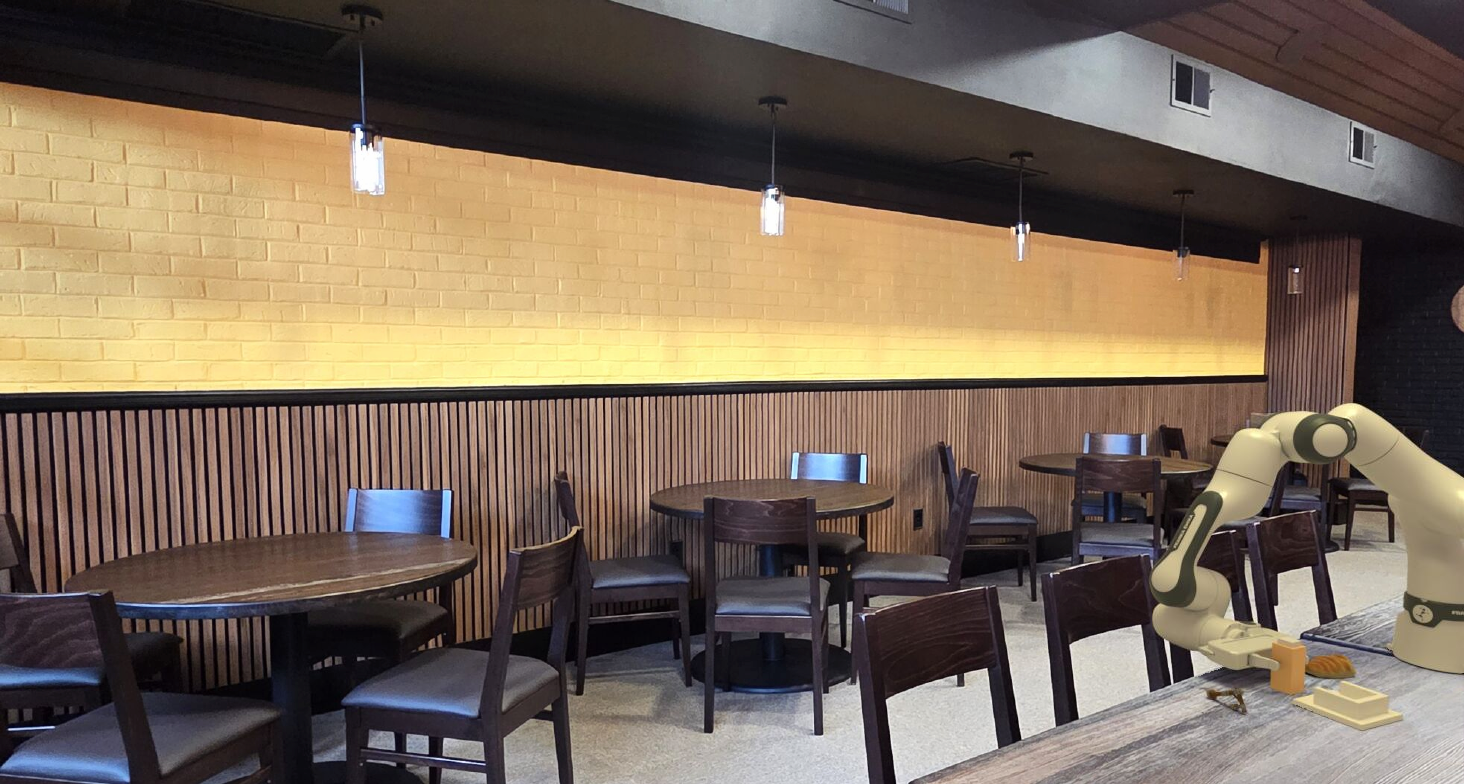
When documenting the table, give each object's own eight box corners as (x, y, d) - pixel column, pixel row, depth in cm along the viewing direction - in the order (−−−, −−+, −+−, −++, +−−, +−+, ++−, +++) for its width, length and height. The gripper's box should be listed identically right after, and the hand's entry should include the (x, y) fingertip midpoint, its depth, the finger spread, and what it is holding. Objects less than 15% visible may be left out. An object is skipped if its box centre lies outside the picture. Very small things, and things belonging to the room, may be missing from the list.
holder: (1333, 694, 166) (1334, 674, 166) (1402, 719, 155) (1403, 697, 155) (1292, 704, 161) (1293, 683, 161) (1361, 730, 150) (1362, 708, 150)
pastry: (1324, 682, 172) (1325, 663, 172) (1293, 670, 179) (1294, 652, 179) (1358, 678, 175) (1359, 659, 175) (1327, 666, 182) (1327, 648, 182)
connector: (1283, 684, 171) (1285, 635, 170) (1303, 692, 167) (1306, 641, 166) (1270, 687, 169) (1272, 637, 168) (1290, 695, 165) (1293, 643, 165)
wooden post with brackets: (1245, 712, 155) (1238, 686, 156) (1211, 713, 162) (1205, 688, 163) (1253, 711, 155) (1246, 685, 157) (1219, 712, 162) (1212, 687, 164)
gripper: (1192, 632, 175) (1258, 654, 162) (1259, 620, 183) (1326, 641, 171) (1191, 662, 175) (1256, 687, 163) (1257, 649, 184) (1324, 672, 171)
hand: (1292, 663), depth 167 cm, fingers open, 7 cm apart
